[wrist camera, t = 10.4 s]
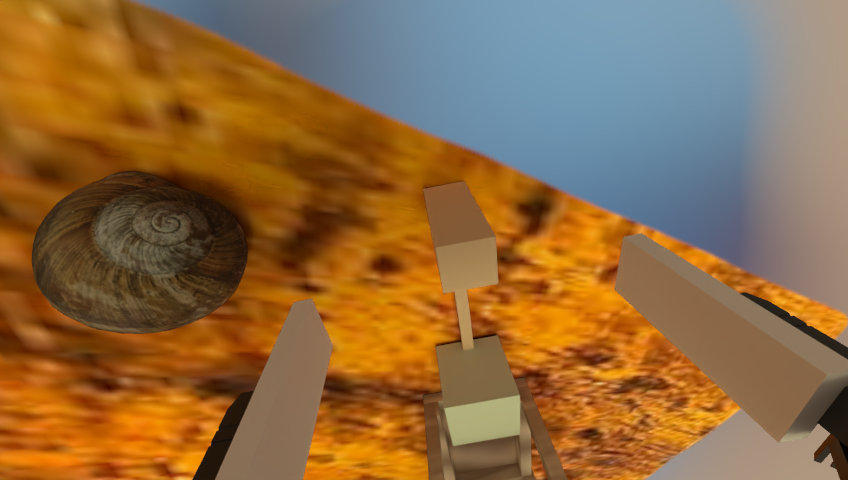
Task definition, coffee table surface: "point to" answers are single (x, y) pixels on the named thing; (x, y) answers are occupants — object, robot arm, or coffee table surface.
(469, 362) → the tethered block
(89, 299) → the seashell
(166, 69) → the coffee table surface
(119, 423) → the coffee table surface
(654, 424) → the coffee table surface
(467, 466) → the frame
